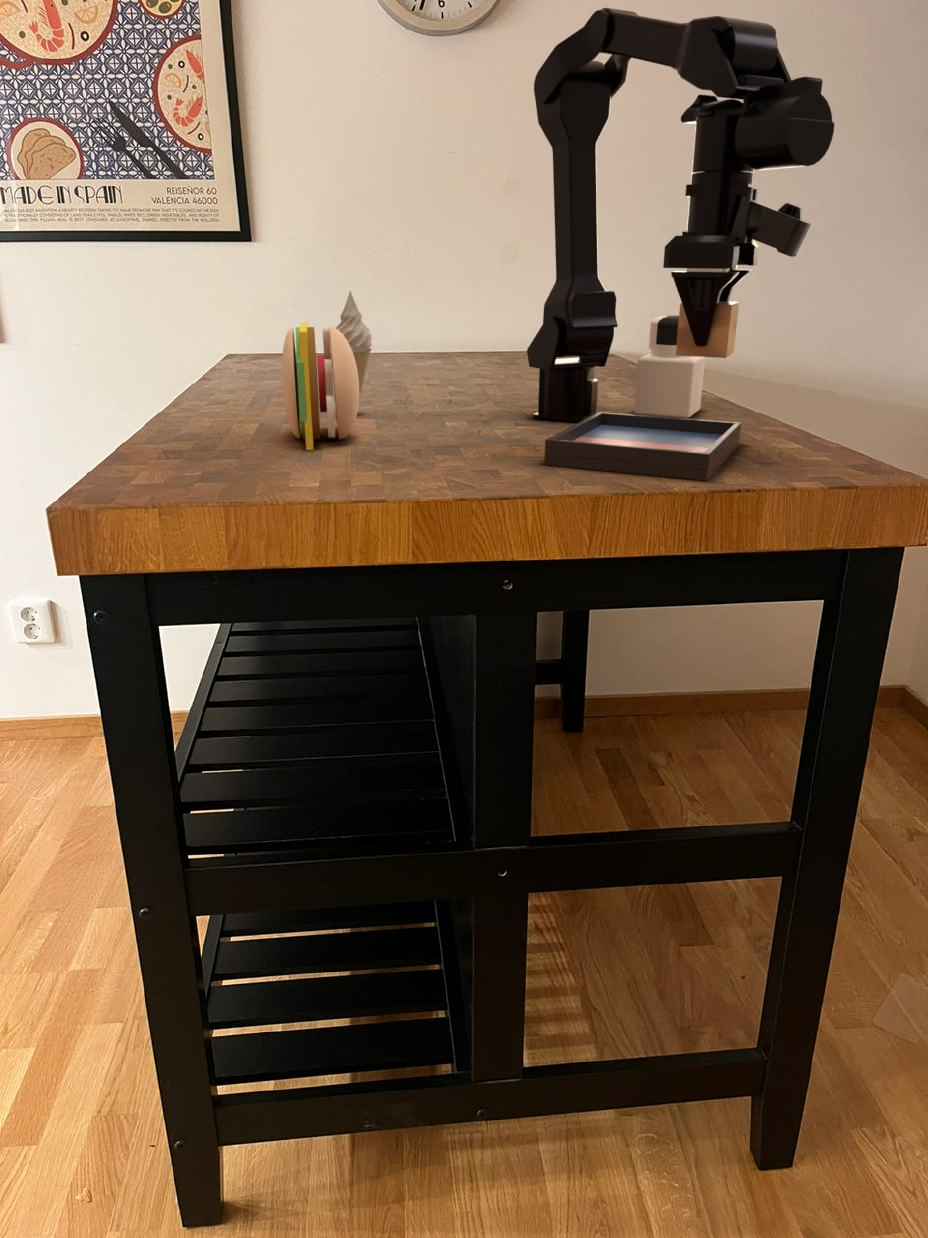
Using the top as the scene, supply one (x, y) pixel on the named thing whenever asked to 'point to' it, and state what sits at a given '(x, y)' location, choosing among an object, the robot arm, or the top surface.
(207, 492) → the top surface
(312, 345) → the hamburger
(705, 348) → the brass block
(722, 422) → the tray
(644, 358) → the white square bottle
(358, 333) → the ice cream cone
